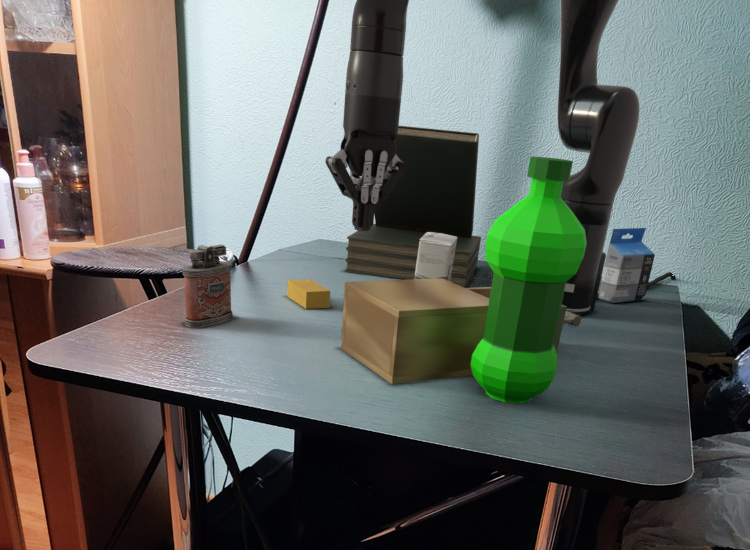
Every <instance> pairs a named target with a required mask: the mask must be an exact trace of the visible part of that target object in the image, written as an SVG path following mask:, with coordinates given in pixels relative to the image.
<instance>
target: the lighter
mask: <svg viewBox="0 0 750 550" xmlns="http://www.w3.org/2000/svg"><path fill="white" fill-rule="evenodd" d="M221 256H222V257H223V256H227V247H226V245H224V244H214V245H209V246H208V245H207V246H206V245H202V244H201V245H198V246H197V248H196V249H192V250H189V259H190V262H191V264H190V265H186V266H183V267H182V275H183V277H184V294H185V295H184V298H185V301H184V302H185V317H184V325H185V326H186V327H188V328H194V329H197V328H205V327H210V326H214V325H219V324H222V323H225V322H228V321H230V320H233V310H232V289H231V287H232V286H231V285H232V284H231V279H232V278H231V271H232V270H233V264H232V263H231V262H229V261H226V260H225V261H223V260H221V259H220V257H221Z"/></svg>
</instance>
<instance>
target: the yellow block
mask: <svg viewBox="0 0 750 550" xmlns="http://www.w3.org/2000/svg"><path fill="white" fill-rule="evenodd" d="M286 284H287V288H286V290H287V291H286V297H287V298H289V299H290V300H292V301H293V302H294V303H296V304H298V305H299V306H301V307H302V308H304V309H305V310H313V309H330V307H331V306H330V305H331V290H330V289H328V288H326V287H324V286H323V285H321V284H320V283H318V282H316V281H314V280H312V279H309V278H308V279H288V280H287V283H286Z"/></svg>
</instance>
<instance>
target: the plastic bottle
mask: <svg viewBox="0 0 750 550" xmlns="http://www.w3.org/2000/svg"><path fill="white" fill-rule="evenodd" d="M573 163H574V160H570V159H563V158H556V157H545V156H544V157H543V156H530V158H529V163H528V169H527V174H526V176H527V178H531V183H530V189H529V194H527V195H526V196H525V197H523V198H522V199H521V200H519V201H518V202H517V203H515V204H514V205H512V206H511V207H510V208H508V209H507V210H506V211H505V212H504V213H502V214H501V215H500V216H499V217H498V218H496V219H495V220H493V222H492V224H491V226H490V228H489V230H488V232H487V234H486V240H485V247H484V250H485V251H484V252H485V261H486V263H487V264H488V266H489V267H490V269H491V270H492V272H493V274H492V280H491V286H490V287H491V292H490V299H489V305H488V311H487V317H486V324H485V330H484V336H483V339H482V340H481V341H480V343H479V344H478V345H477V347H476V349H475V351H474V352H473V354H472V359H471V369H472V373H473V375H472V376H473V377H474V379H475V381H476V383H478V384H479V386H480V387H481V388H482V390H483V391H485V394H486V395H487V396H489V397H490V398H491V399H493V400H495V401H498V402H499V401H500V402H503V403H507V404H519V405H520V404H525V403H528V402H530V400H531V399H534V398H536V397H537V396H539V395H541V394H543V393H544V392H545V391H547V390H548V389H549V387H550V385H551V384H552V382H553V381H554V378H555V376H556V372H557V368H558V364H559V360H558V353H557V354H556V350H555V347H554V344H553V343H554V338H555V333H556V329H557V324H558V319H559V314H560V310H561V305H562V300H563V295H564V290H565V286H566V281H568V280H569V279H570V278H571V277H573V276H574V275H575V274H576V273H577V271H578V269H579V266H580V264H581V262H582V259H583V257H584V254H585V249H586V244H587V241H586V234H585V229H584V228H583V226H582V225H581V223H580V222H579V220H578V219H577V218H576V216H575V215H574V213H573V212H572V211H571V209H570V208H569V207H568V206H567V204H566V203H565V202H564V201H563V199H562V198H561V193H562V187H563V182H564V181H569V179H570V175H572V174H571V173H572V169H573Z"/></svg>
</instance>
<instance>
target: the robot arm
mask: <svg viewBox="0 0 750 550" xmlns="http://www.w3.org/2000/svg"><path fill="white" fill-rule="evenodd" d="M409 2H410V0H356V1H355V4H354V7H353V12H352V19H351V30H350V31H351V32H350V46H349V54H348V55H349V56H348V62H347V68H346V75H345V89H344V90H345V91H344V106H343V121H342V128H343V132H344V134H343V138H342V141H341V142H340V147H339V148H340V149H339V150H338V151H337V152H336V153H335V154H334V155H333V156H330V155H329V156H328V155H327V156H326V158H325V165H326V167H327V169H328V170H329V172H330V173H331V174H330V175H331V177H332V178H333V180H334V182H335V184H336V185H337V187H338V190H339V191H340V193H341V194H342V196H344V197H345V198H348V199H350V200H351V201H352V217H351V223H352V226H353V229H354V230H355V231H370V229H371V227H372V226H373V224H375V214H374V212H375V204H376V203H377V201H379V200H381V199H387V198H388V196H389V195H390V193H391V192H392V191H393V189H394V188H395V186H396V185H397V183H398V182H399V180H400V179H401V178H402V176H403V175H404V173H405V172H406V170H407V168H408V164H407V163H406V162H402V161H401V160H400V159H399V157H398V156H397V155H396V150H397V149H396V145H395V136H396V134H397V133H398V126H400V115H401V104H402V94H403V85H404V84H403V83H404V54H405V44H406V32H407V14H408V7H409ZM618 3H619V0H559V9H560V11H559V12H560V13H559V14H560V15H559V16H560V17H559V18H560V19H559V21H560V53H559V54H560V57H559V74H558V75H559V77H558V93H557V131H558V136H559V139H560V141H561V144H562V145H563V146H564V147H565V148H566V149H568V150H570V151H574V152H580V153H586V154H588V157H587V160H586V163H585V165H584V166H583V168H582V169H580V170H579V171H577V172H576V173H573V174H570V179H569V181H564V182H563V187H562V193H561V198H562V199H563V201H564V202H565V203H566V204H567V206H568V207H569V208H570V209H571V211H572V212H573V213H574V215H575V216H576V218H577V219H578V220H579V222H580V223H581V225H582V226H583V228H584V229H585V234H586V241H587V244H586V249H585V254H584V257H583V259H582V262H581V264H580V266H579V269H578V271H577V273H576V274H575V275H574V276H573V277H571V278H570V279H569V280H568V281H566V286H565V290H564V295H563V300H562V305H564V306H567V308H566V311H568V312H571V313H574V314H576V315H579V316H583V315H587V314H589V313H590V312H594V311H595V306H596V301H598V300H599V299H598V297H599V291H600V286H601V281H602V277H603V272H604V267H605V262H606V257H607V253H605V252H603V251H604V247H605V244H606V243H605V242H606V239H607V233H608V230H609V226H610V221H611V216H612V211H613V207H614V203H615V199H616V195H617V193H618V191H619V189H620V187H621V186H622V183H623V180H624V177H625V173H626V169H627V166H628V162H629V159H630V155H631V151H632V149H633V145H634V141H635V138H636V134H637V131H638V125H639V120H640V100H639V96H638V95H637V92H636V91H635V90H634V89H632V88H631V87H628V86H624V85H611V84H609V85H608V84H599V82H598V56H599V49H600V45H601V40H602V38H603V35H604V32H605V30H606V27H607V25H608V23H609V21H610V19H611V17H612V15H613V13H614V11H615V9H616V7H617V5H618ZM347 168H349V171H348V169H347ZM386 169H387V170H386ZM385 170H386V172H385ZM384 172H385V173H384ZM372 177H374V178H372ZM671 272H672V271H668V272H666V273H663V274H662V275H660V276H658V277H657V276H656V278H654V279H652V281H649V282H648V286H647V289H648V288H651V287H653V286H656V285H657V284H659V283H660V282H662V281H664V280H666V279H668V278H670V280H671V281H676V280H677V278H676V277H677V276H676V274H675V275H674V276H672V275H673V274H672V273H673V272H672V273H671Z"/></svg>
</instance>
